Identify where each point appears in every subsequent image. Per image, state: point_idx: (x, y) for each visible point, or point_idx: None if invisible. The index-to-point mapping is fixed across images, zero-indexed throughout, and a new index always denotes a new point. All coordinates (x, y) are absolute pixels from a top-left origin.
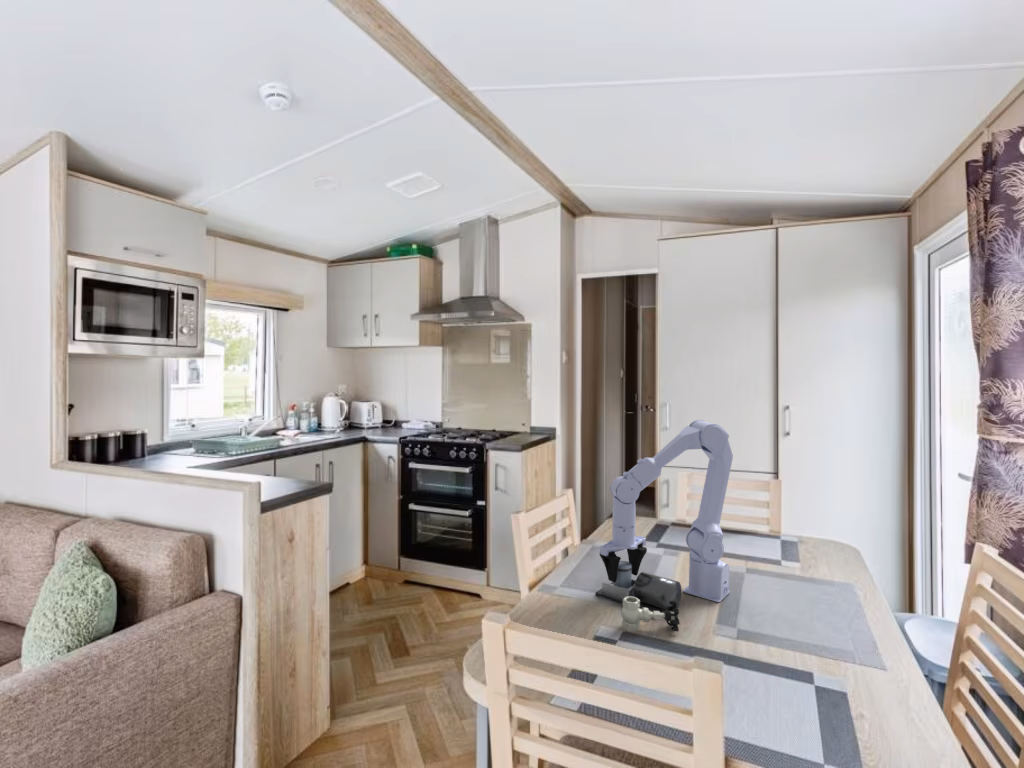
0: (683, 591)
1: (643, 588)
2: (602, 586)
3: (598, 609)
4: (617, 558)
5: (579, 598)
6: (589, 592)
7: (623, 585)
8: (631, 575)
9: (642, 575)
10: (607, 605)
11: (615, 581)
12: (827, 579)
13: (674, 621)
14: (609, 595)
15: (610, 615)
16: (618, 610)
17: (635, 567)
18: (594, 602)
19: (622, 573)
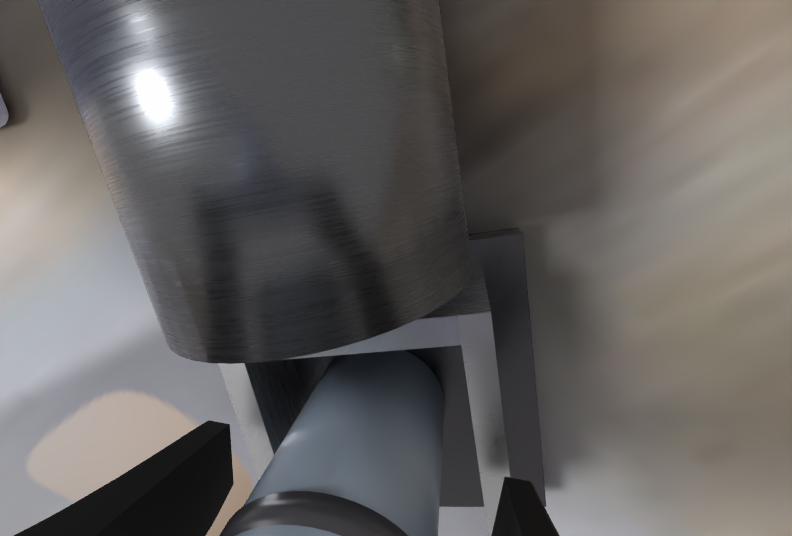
0: (2, 112)
1: (447, 167)
2: None
3: (740, 365)
4: None
5: (662, 530)
6: None
7: (420, 410)
8: (294, 442)
9: (309, 297)
10: (624, 358)
11: (519, 483)
12: None
13: None
14: (518, 421)
15: (783, 246)
16: (645, 257)
17: (170, 497)
18: (646, 441)
19: (415, 521)
